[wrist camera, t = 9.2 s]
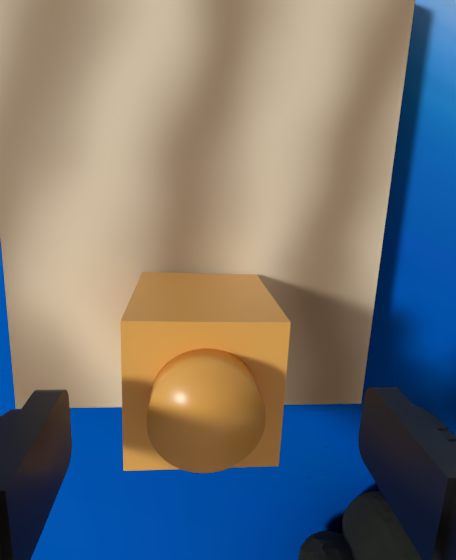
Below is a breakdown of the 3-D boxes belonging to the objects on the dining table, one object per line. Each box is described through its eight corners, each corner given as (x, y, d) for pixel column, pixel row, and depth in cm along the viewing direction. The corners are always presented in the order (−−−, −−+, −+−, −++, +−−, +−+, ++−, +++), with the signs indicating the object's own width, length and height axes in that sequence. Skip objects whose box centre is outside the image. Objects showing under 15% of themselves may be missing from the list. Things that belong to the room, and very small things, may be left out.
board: (398, -4, 17) (481, -74, 12) (349, 388, 22) (396, 449, 17) (-7, -43, 16) (-93, -140, 11) (28, 391, 20) (-23, 460, 15)
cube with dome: (256, 274, 18) (302, 338, 11) (250, 376, 19) (287, 494, 12) (142, 272, 17) (113, 337, 10) (143, 377, 18) (117, 500, 11)
